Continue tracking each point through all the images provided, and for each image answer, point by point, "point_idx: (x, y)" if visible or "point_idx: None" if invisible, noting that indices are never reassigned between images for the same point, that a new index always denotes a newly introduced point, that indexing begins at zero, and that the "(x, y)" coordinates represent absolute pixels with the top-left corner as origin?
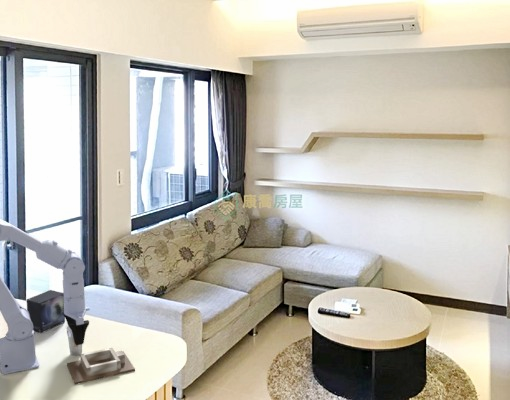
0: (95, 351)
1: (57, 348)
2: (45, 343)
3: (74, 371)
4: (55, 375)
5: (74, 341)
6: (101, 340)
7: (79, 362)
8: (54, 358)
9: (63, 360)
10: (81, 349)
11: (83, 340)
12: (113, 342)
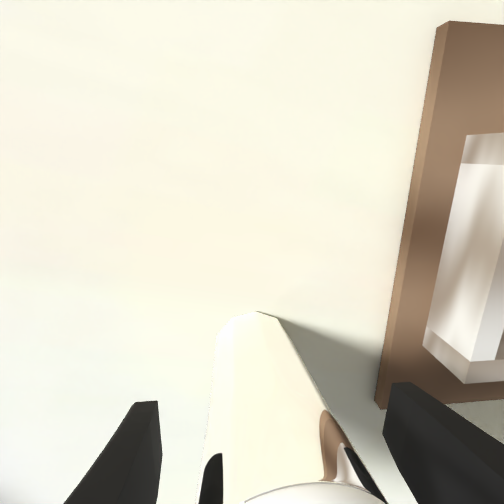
0: (496, 281)
1: None
2: (12, 485)
3: (494, 383)
4: None
5: (405, 470)
6: (98, 133)
7: (417, 351)
8: None
9: None
10: (279, 330)
11: (440, 405)
12: (188, 38)
